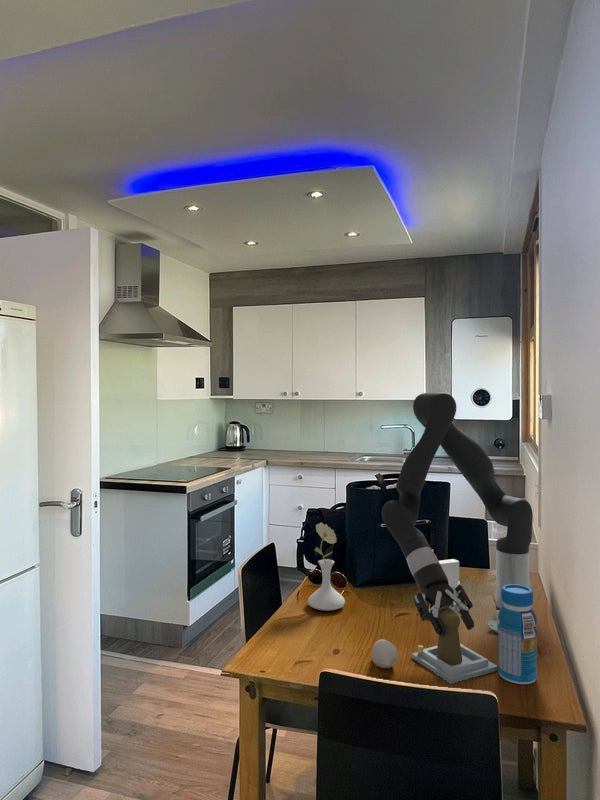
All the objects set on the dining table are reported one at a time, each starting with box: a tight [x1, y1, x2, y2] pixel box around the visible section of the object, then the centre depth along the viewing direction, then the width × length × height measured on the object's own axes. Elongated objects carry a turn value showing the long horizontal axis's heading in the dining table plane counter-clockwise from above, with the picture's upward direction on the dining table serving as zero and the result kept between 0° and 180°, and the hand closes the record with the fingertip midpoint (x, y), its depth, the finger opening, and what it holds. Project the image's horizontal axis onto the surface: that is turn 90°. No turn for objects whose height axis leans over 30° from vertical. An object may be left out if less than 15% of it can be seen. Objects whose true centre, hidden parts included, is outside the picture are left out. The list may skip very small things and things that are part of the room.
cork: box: [436, 610, 462, 665], centre depth 133 cm, size 6×6×11 cm
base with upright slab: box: [438, 558, 461, 604], centre depth 175 cm, size 9×9×12 cm
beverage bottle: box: [497, 584, 538, 685], centre depth 127 cm, size 8×8×20 cm
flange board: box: [411, 643, 498, 685], centre depth 133 cm, size 14×14×3 cm
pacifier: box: [487, 609, 500, 634], centre depth 151 cm, size 7×6×6 cm
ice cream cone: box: [371, 639, 399, 669], centre depth 130 cm, size 6×6×15 cm
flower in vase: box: [307, 522, 346, 612], centre depth 170 cm, size 13×11×25 cm
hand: (457, 631), depth 132 cm, fingers open, 8 cm apart
